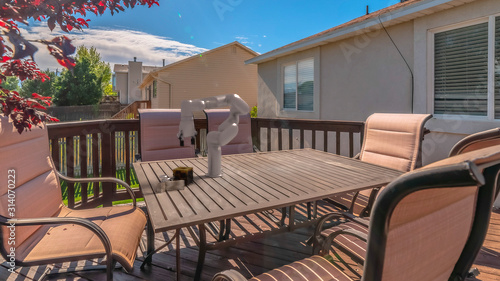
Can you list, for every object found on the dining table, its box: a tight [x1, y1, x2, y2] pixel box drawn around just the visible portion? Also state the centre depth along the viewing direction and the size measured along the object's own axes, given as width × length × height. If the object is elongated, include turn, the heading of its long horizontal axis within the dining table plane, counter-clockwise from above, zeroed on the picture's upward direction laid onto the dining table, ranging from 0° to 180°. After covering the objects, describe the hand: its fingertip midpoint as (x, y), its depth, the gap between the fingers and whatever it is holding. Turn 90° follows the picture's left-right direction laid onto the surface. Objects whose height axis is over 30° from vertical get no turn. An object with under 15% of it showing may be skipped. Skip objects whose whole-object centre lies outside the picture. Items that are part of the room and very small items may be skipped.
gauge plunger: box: [158, 174, 175, 183], centre depth 168 cm, size 11×4×4 cm, turn 156°
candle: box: [172, 166, 195, 187], centre depth 182 cm, size 10×10×10 cm
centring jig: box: [156, 178, 185, 194], centre depth 168 cm, size 13×16×5 cm
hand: (187, 145), depth 188 cm, fingers open, 9 cm apart
